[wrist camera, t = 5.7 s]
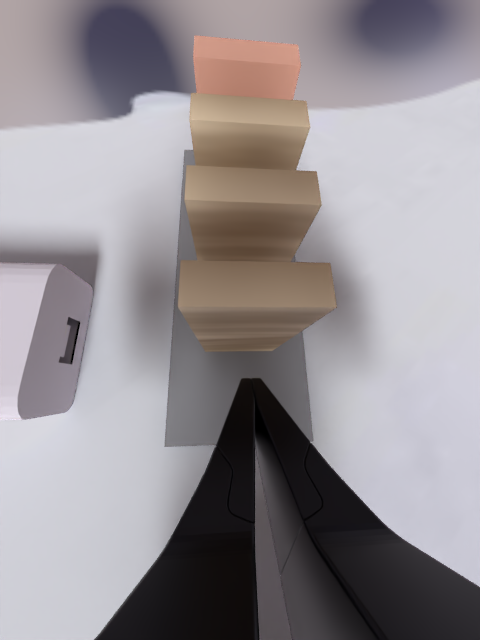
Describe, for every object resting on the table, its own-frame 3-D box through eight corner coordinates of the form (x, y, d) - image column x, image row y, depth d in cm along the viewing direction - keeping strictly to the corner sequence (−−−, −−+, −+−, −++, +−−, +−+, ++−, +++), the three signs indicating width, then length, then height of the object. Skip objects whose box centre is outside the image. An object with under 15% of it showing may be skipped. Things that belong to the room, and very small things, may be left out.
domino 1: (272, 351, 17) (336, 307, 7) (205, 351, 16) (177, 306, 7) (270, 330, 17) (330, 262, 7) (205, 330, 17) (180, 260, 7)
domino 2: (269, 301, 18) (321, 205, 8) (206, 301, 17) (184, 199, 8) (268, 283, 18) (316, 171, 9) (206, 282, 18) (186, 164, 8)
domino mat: (309, 438, 16) (313, 440, 15) (166, 444, 15) (164, 446, 14) (283, 160, 23) (284, 155, 22) (185, 155, 22) (184, 149, 22)
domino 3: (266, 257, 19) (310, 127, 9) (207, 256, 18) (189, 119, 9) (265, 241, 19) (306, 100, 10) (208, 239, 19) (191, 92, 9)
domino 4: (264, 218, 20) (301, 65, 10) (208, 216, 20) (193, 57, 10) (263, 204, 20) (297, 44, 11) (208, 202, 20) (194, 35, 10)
